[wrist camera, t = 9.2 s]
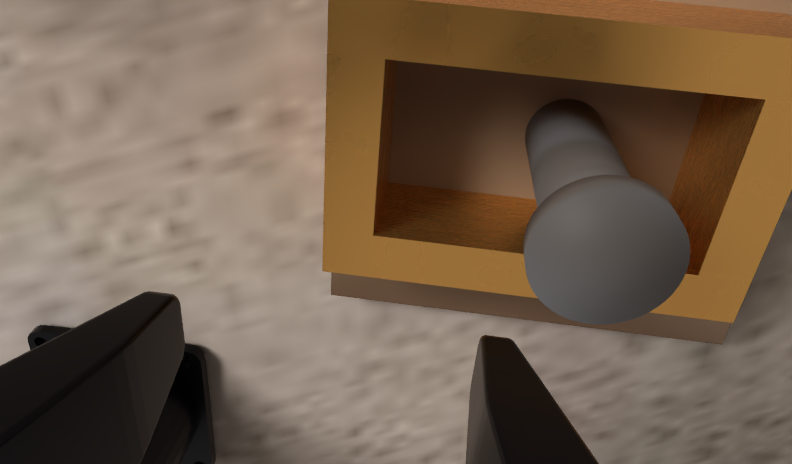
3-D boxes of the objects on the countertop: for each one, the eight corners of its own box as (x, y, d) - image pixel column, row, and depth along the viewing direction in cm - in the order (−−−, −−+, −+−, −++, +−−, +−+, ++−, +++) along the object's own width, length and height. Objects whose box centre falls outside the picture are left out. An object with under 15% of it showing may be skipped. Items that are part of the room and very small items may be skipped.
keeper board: (709, 320, 20) (816, 524, 14) (338, 273, 21) (278, 448, 14) (884, -106, 14) (1214, -87, 8) (353, -152, 15) (262, -169, 8)
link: (695, 256, 18) (733, 322, 15) (344, 214, 18) (322, 271, 16) (786, 13, 14) (855, 44, 12) (354, -30, 15) (328, -9, 12)
